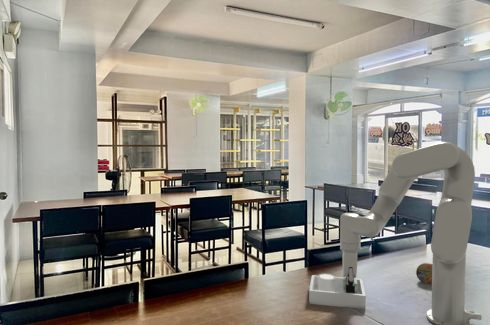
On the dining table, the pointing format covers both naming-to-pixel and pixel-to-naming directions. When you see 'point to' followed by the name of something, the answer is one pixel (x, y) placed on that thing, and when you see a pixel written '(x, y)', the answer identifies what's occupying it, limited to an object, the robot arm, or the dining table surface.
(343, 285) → the cube
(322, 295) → the tote
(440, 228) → the robot arm
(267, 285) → the dining table surface
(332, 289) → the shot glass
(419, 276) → the tin
